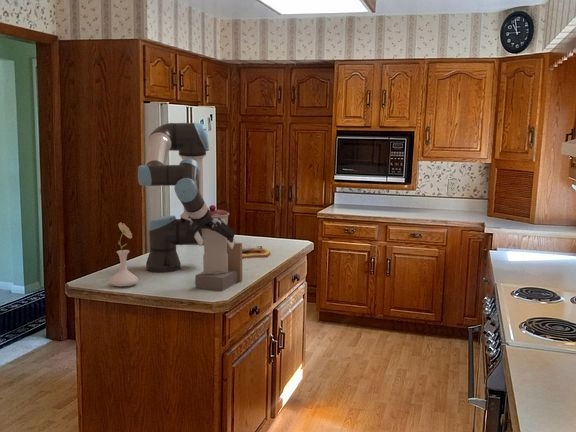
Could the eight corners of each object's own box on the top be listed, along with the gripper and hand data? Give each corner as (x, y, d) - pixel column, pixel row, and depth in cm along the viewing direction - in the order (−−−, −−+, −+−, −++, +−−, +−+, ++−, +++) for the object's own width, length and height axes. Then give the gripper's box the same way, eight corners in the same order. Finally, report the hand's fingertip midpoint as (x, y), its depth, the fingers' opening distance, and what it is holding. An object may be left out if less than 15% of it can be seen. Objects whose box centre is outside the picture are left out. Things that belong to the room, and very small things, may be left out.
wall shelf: (193, 287, 236) (192, 247, 234) (211, 278, 251) (211, 240, 249) (225, 290, 231) (225, 250, 229) (242, 281, 246) (242, 242, 244)
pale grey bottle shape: (203, 275, 235) (202, 219, 232) (201, 272, 239) (200, 218, 236) (229, 273, 238) (229, 218, 235) (227, 271, 242) (227, 217, 239)
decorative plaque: (207, 245, 287) (210, 237, 306) (207, 260, 288) (210, 251, 307) (271, 244, 289) (269, 237, 308) (271, 259, 290) (269, 251, 309)
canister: (230, 240, 336) (229, 203, 333) (229, 246, 318) (228, 207, 315) (197, 240, 335) (196, 203, 332) (195, 246, 317) (194, 207, 314)
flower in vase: (140, 287, 236) (138, 224, 232) (110, 290, 232) (107, 226, 228) (136, 279, 248) (134, 219, 244) (107, 281, 244) (105, 221, 240)
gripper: (165, 218, 223) (185, 250, 240) (226, 221, 215) (243, 254, 231) (172, 202, 228) (192, 235, 244) (232, 205, 219) (248, 238, 236)
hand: (217, 244), depth 238 cm, fingers open, 13 cm apart
